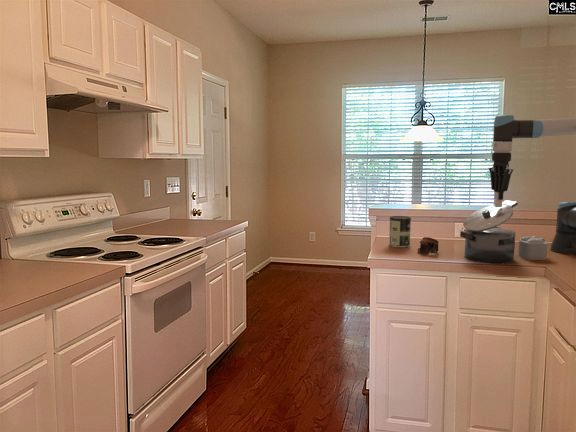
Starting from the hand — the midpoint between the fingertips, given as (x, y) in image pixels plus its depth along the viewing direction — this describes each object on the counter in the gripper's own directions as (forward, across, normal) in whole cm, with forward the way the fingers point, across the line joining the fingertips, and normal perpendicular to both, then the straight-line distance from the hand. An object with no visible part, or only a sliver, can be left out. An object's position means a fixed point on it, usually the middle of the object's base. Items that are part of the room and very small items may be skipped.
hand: (498, 206), depth 208 cm
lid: (+4, 0, -3) cm, 6 cm away
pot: (+23, 0, -4) cm, 23 cm away
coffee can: (+23, -34, -29) cm, 50 cm away
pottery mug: (+23, -15, -23) cm, 36 cm away
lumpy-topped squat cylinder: (+23, +1, +18) cm, 29 cm away
